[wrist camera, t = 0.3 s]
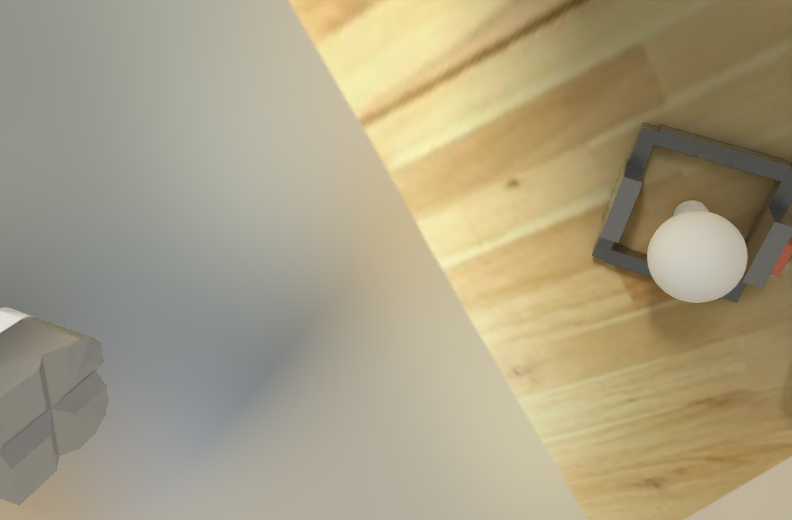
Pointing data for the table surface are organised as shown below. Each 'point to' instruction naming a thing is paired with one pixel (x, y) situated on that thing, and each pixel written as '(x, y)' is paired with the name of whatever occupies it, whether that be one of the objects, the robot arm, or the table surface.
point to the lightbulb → (697, 254)
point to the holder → (774, 220)
